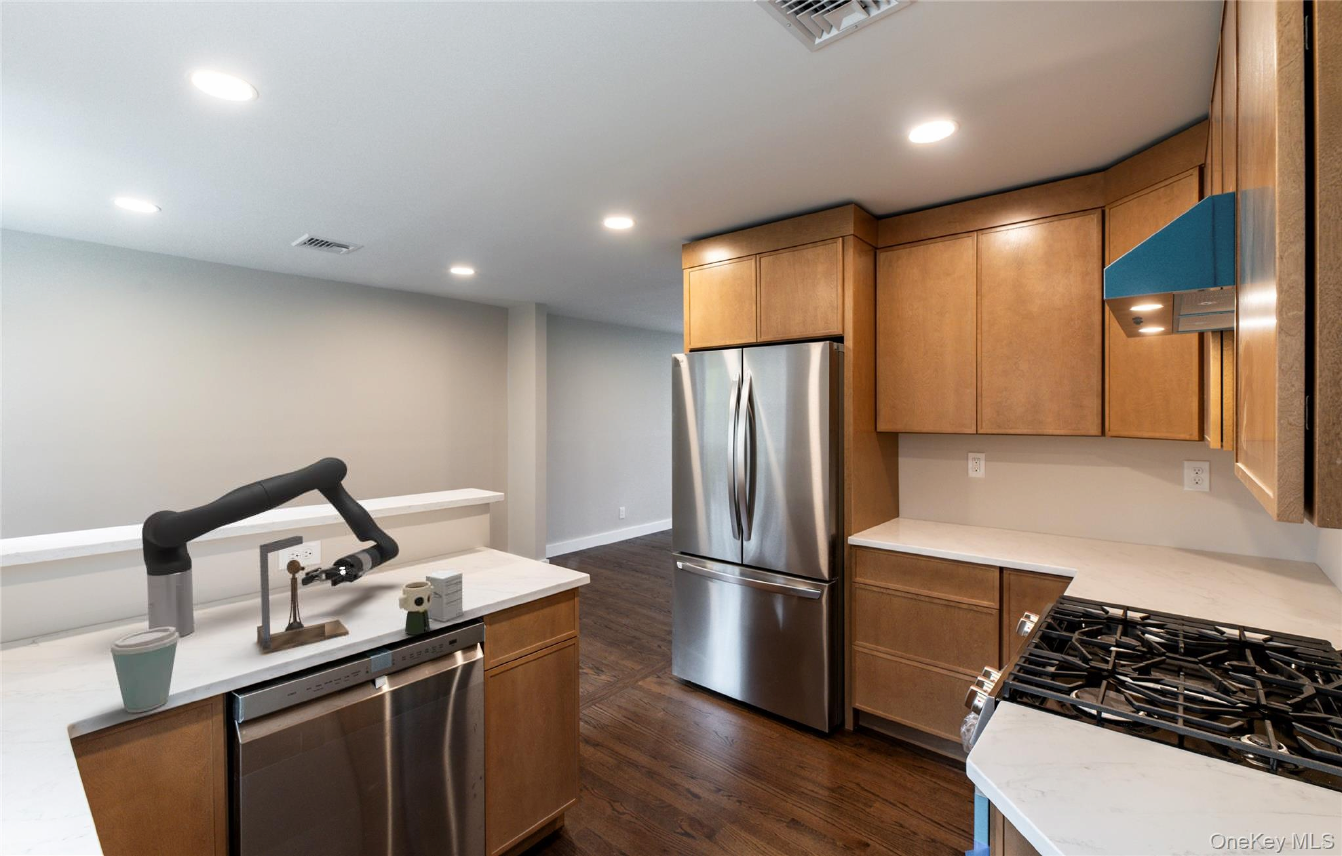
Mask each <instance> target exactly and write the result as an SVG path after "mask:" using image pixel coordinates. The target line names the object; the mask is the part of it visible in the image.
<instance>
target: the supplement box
mask: <svg viewBox="0 0 1342 856" xmlns="http://www.w3.org/2000/svg"><path fill="white" fill-rule="evenodd" d="M425 581H427V582H430V583H431V586H433V587H434V597H433V598H431V599H432V602H431V605H430V607H429V608H427V611H428V617H429V619H432V620H435V621H440V622H443V623H445V622H446V621H449V620H452V619H455V618H458V617H459V616H462V615H463V572H459V571H454V570H450V569H442V570H439V571H435V572H432V573H430V574H426V575H425Z"/></svg>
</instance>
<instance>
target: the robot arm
mask: <svg viewBox="0 0 1342 856" xmlns="http://www.w3.org/2000/svg"><path fill="white" fill-rule="evenodd" d="M347 475H348V465H347V464H346V463H345V462H344V460H342V459H341V458H337V457H334V456H333V457H330V456H329V457H323V458H322V459H320V460H317V461H316V462H314V463H312V464H310V465H307V466H305V467H303V468H300V469H298V470H295V471H291V472H287V473H282V474H278V475H275V476H270V477H267V478H265V479H261V480H257V481H254V482H251V483H248V484H245V485H242V486H239V487H237V488H235V489H233V490H231V491H229V492H226V493H225V494H223V495H222V496H221V497H218V498H217V499H215V500H214V501H212V502H210V503H207V504H204V505H202V506H201V505H200V506H197V507H193V508H191V509H186V510H182V511H174V510H168V509H167V510H159V511H156V512H153V513H152V514H150V516H148V517H147V518H146V519H145V521H144V522H143V525H142V531H141V541H142V553H143V554H142V555H143V561H144V565H145V568H146V579H147V580H146V581H147V587H146V588H147V611H148V612H147V613H148V617H147V618H148V630H150V629H155V628H161V627H175V628H176V632H178V633H179V637H180V638H181V637H182V638H183V637H184V636H187V635H190V634H191V633H193V632H194V631H195V618H194V617H195V616H194V614H195V613H194V591H193V588H194V587H193V563H192V561H193V560H192V557H191V555H190V554H189V551H188V544H187V543H189V542H191V541H193V540H196V539H197V538H200V537H202V536H204V535H206V534H208V533H211V532H212V531H214V530H215V531H216V529H220V528H222V527H225V526H228V525H231V524H234V523H238V522H240V521H242V520H243V521H244V520H247V519H248V518H252V517H255V516H258V515H260V514H263V513H265V512H268V511H271V510H273V509H275V508H278V507H280V506H283V505H285V504H286V503H289V502H290V501H292V500H295V499H296V498H299V497H300V496H302V495H303V494H306V493H309V492H312V491H315V490H316V491H318V492H320V494H321V495H322V496H323V497H324V498H325V499H326V500H327V501H328V502H329V504H330V505H332V507H333V508H334V509H335V510H336V512H338V514H339V515H340V516H341V517H342V519H343V520H344V522H345V523H346V524H347V526H348V527H349V529H350V530H351V532H352V533H353V534H354V535H355V537H356V539H357V540H358V541H359V542H361V543H366V542H374V543H375V544H373V545H371V546H369V547H367V548H362V549H361V550H359V551H357V552H356V551H355V552H352V553H349V554H347V555H345V556H342V557H340V558H338V559H337V560H335V561H334V562H333V564H332V565H331V566H329V567H327V568H323V569H322V567H317V568H314V569H311V570H308V571H306V572H304V577H302V578H301V585H302V587H305V586H308V585H311V584H313V583H315V582H320V583H324V582H328V581H330V584H331V585H330V586H331V587H336V586H338V585H340V584H346V583H351V584H352V583H353V582H355V581H357V580H360V579H361V578H362V577H363V575H365V574H366V573H368V572H370V571H372V570H374V569H375V568H378V567H379V566H381V565H383V564H385V563H388V562H389V561H391V560H393V559H396V557H398V555H399V553H400V548H399V545H398V543H397V541H395V539H394V538H392V536H390V535H389V534H388V533H387V532H385V531H384V530H383V529H382V528H381V527H379V526H378V525H377V523H376V521H375V520H374V518H373V516H371V514H370V513H369V512H368V510H366V508H365V507H364V506H362V504H360V503H359V502H358V501H357V500H355V499H354V498H353V497H352V496H351V494H349V492H348V491H347V490H346V488H345V487H344V485H343V483H342V482H343V481H344V479H345V478H346V476H347ZM323 575H324V578H323Z"/></svg>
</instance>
